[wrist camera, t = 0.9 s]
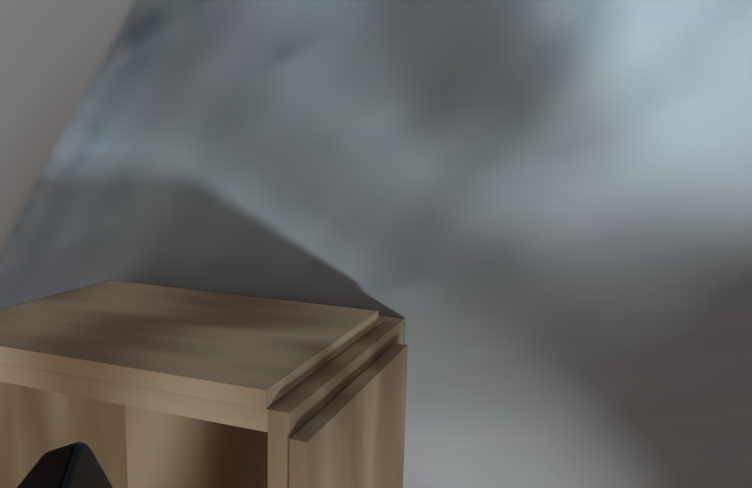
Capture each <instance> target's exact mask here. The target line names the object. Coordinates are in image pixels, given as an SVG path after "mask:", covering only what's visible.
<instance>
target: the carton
mask: <svg viewBox="0 0 752 488" xmlns="http://www.w3.org/2000/svg"><path fill="white" fill-rule="evenodd" d="M404 321H405V318H396V317H388V316H379V311H374V310H366V309H357V308H348V307H340V306H331V305H322V304H314V303H305V302H296V301H288V300H279V299H270V298H262V297H253V296H244V295H236V294H227V293H218V292H210V291H201V290H192V289H184V288H175V287H166V286H157V285H149V284H140V283H131V282H123V281H114V280H110V281H106V282H102V283H98V284H94V285H91V286H87V287H83V288H79V289H75V290H72V291H68V292H64V293H60V294H56V295H53V296H49V297H45V298H41V299H37V300H34V301H30V302H26V303H22V304H18V305H15V306H11V307H7V308H3V309H0V488H17V486H18V485H19V484H20V483H21V481H22V480H23V479H24V478H25V476H26V475H27V474H28V473H29V472H30V470H31V469H32V468H33V467H34V465H35V464H36V463H37V462H38V460H39V459H40V458H41V457H42V456H43V455H44V454H45V453H46V452H48V451H51V450H53V449H56V448H59V447H63V446H66V445H69V444H72V443H75V442H83V443H86V444H87V445H88V446H89V447H90V449H91V450H92V452H93V453H94V455H95V457H96V459H97V460H98V462H99V464H100V466H101V467H102V469H103V471H104V473H105V474H106V476H107V478H108V480H109V482H110V483H111V485H112V487H113V488H403V463H404V435H405V406H406V378H407V349H408V345H404Z"/></svg>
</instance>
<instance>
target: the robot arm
mask: <svg viewBox="0 0 752 488" xmlns="http://www.w3.org/2000/svg"><path fill="white" fill-rule="evenodd" d="M17 488H113V487H112V485H111V483H110V482H109V480H108V478H107V476H106V474H105V473H104V471H103V469H102V467H101V466H100V464H99V462H98V460H97V459H96V457H95V455H94V453H93V452H92V450H91V449H90V447H89V446H88V445H87V444H86V443H83V442H75V443H72V444H69V445H66V446H63V447H59V448H56V449H53V450H51V451H48V452H46V453H45V454H44V455H43V456H42V457H41V458H40V459H39V460H38V462H37V463H36V464H35V465H34V467H33V468H32V469H31V470H30V472H29V473H28V474H27V475H26V476H25V478H24V479H23V480H22V481H21V483H20V484H19V485H18V486H17Z"/></svg>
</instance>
